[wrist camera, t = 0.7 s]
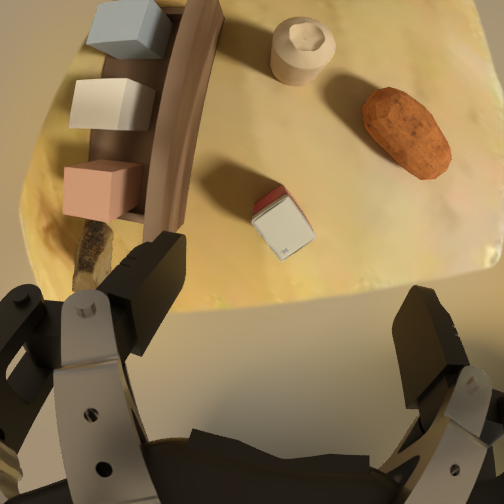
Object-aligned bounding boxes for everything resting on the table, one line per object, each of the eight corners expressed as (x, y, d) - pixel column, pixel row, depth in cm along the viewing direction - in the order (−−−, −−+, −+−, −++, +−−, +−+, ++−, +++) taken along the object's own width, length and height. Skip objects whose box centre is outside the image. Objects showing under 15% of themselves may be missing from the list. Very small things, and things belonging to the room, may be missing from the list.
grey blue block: (119, 59, 27) (85, 44, 19) (129, 25, 25) (99, 3, 17) (163, 59, 27) (136, 39, 19) (173, 23, 25) (150, -3, 18)
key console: (87, 205, 34) (42, 227, 25) (120, 18, 25) (81, -8, 16) (183, 222, 35) (157, 253, 26) (224, 18, 25) (211, -21, 16)
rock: (119, 315, 38) (143, 270, 33) (65, 324, 31) (79, 275, 26) (95, 258, 42) (115, 211, 38) (47, 261, 35) (60, 208, 30)
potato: (377, 78, 28) (402, 67, 21) (443, 150, 30) (476, 156, 23) (343, 119, 30) (363, 114, 23) (414, 189, 32) (444, 202, 26)
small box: (306, 217, 34) (319, 238, 27) (277, 237, 35) (281, 263, 28) (282, 182, 33) (288, 194, 25) (252, 203, 34) (249, 222, 26)
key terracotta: (98, 197, 33) (62, 213, 26) (101, 159, 31) (64, 166, 24) (139, 204, 33) (108, 222, 26) (143, 164, 32) (111, 172, 24)
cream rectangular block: (105, 127, 30) (68, 128, 22) (112, 89, 28) (76, 80, 21) (148, 131, 30) (117, 130, 23) (156, 90, 28) (127, 78, 21)
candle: (298, 96, 29) (313, 77, 20) (260, 67, 28) (259, 38, 19) (327, 64, 27) (352, 37, 18) (289, 36, 26) (299, 0, 17)
